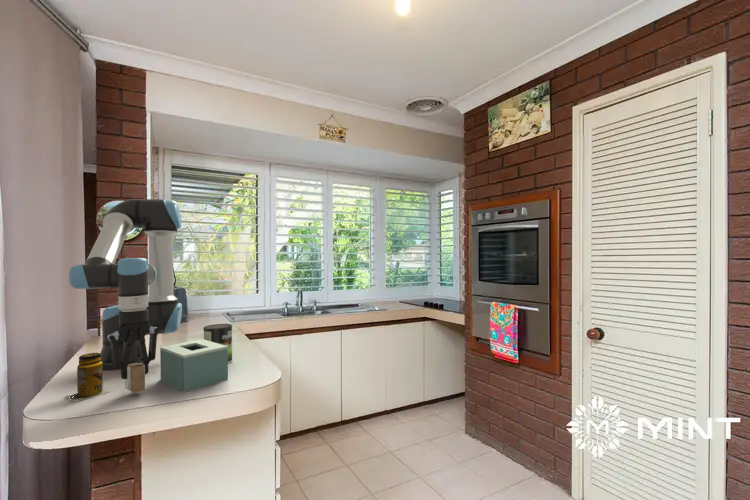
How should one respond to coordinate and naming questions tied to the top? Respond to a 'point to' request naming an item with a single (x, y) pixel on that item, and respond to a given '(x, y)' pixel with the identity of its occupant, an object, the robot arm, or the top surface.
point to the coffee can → (220, 336)
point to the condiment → (88, 377)
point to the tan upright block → (137, 377)
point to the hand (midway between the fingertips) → (135, 387)
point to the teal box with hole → (194, 364)
